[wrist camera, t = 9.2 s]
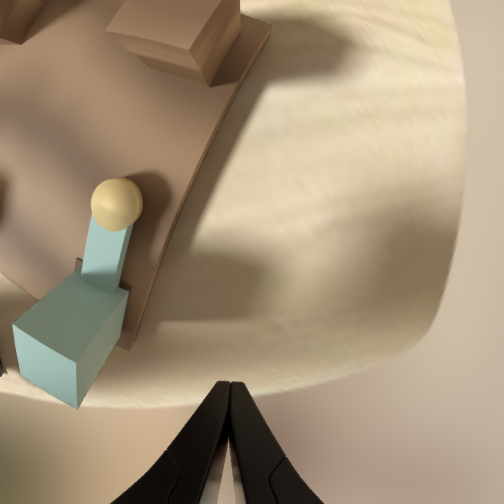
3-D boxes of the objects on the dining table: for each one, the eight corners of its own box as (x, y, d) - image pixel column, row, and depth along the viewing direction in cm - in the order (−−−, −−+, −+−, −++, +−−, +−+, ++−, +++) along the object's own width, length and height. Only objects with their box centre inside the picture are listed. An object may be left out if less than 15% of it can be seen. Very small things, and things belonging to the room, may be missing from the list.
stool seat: (135, 339, 15) (100, 406, 10) (-40, 225, 13) (-87, 247, 7) (269, 35, 10) (283, -30, 5) (30, -1, 8) (-16, -24, 2)
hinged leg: (99, 168, 11) (15, 183, 6) (157, 190, 11) (92, 217, 6) (74, 314, 13) (21, 375, 8) (119, 336, 14) (77, 409, 8)
